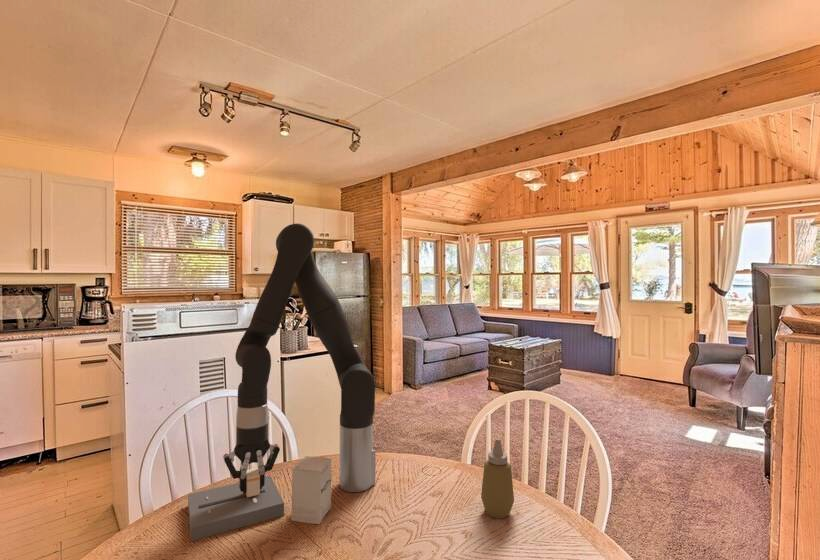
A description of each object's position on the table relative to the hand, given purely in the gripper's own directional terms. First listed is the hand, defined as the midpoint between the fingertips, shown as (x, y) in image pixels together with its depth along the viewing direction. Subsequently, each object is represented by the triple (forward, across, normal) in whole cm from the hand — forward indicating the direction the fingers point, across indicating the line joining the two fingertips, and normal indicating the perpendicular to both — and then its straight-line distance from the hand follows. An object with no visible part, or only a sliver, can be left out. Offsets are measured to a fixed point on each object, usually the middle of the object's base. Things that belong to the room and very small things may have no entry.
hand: (251, 489), depth 103 cm
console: (+4, +4, 0) cm, 6 cm away
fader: (+1, 0, 0) cm, 1 cm away
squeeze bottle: (+4, -52, +33) cm, 62 cm away
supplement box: (+4, -12, +11) cm, 17 cm away
